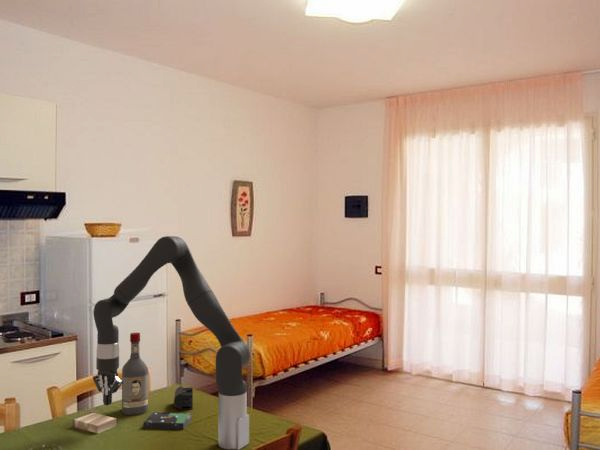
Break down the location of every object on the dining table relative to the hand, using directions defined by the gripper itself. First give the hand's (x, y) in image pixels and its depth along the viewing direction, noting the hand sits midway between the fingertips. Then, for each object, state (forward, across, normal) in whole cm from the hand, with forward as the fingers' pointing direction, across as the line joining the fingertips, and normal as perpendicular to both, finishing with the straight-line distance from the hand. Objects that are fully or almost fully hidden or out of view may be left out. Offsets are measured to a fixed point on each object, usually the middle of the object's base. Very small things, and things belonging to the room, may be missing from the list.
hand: (107, 404), depth 183 cm
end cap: (+9, -8, -31) cm, 33 cm away
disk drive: (+9, -15, -15) cm, 23 cm away
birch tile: (+8, 0, 0) cm, 8 cm away
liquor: (+9, +5, -18) cm, 21 cm away
